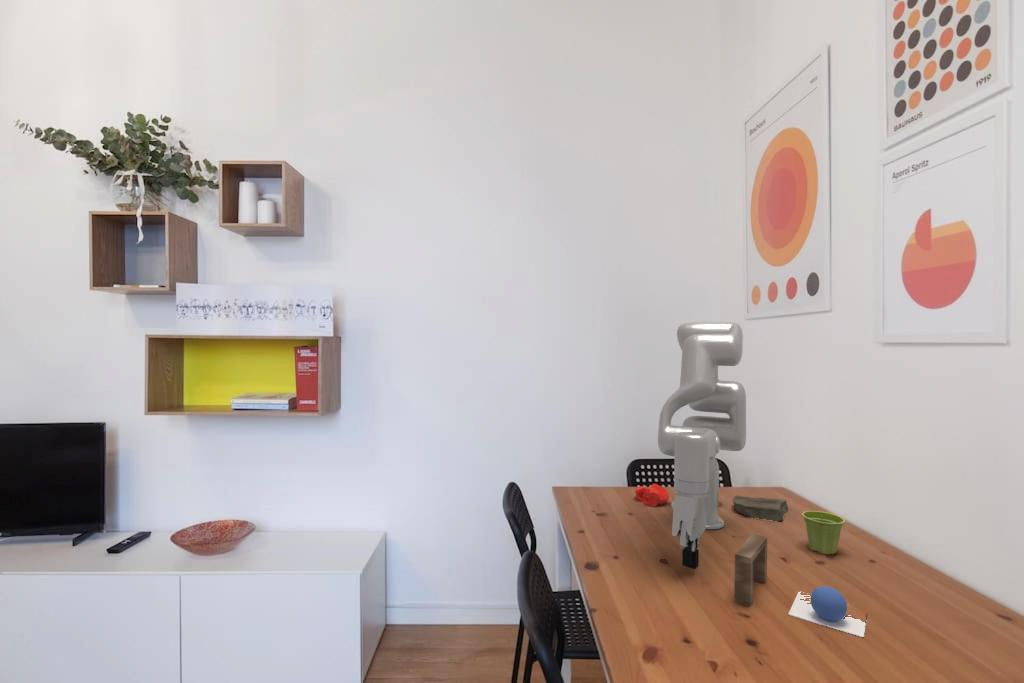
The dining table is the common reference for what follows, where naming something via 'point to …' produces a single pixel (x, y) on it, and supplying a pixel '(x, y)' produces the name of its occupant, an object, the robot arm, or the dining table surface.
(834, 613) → the ball
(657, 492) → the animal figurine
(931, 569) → the dining table surface
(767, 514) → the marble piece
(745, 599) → the bridge
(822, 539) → the plant pot
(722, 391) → the robot arm
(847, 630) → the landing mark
